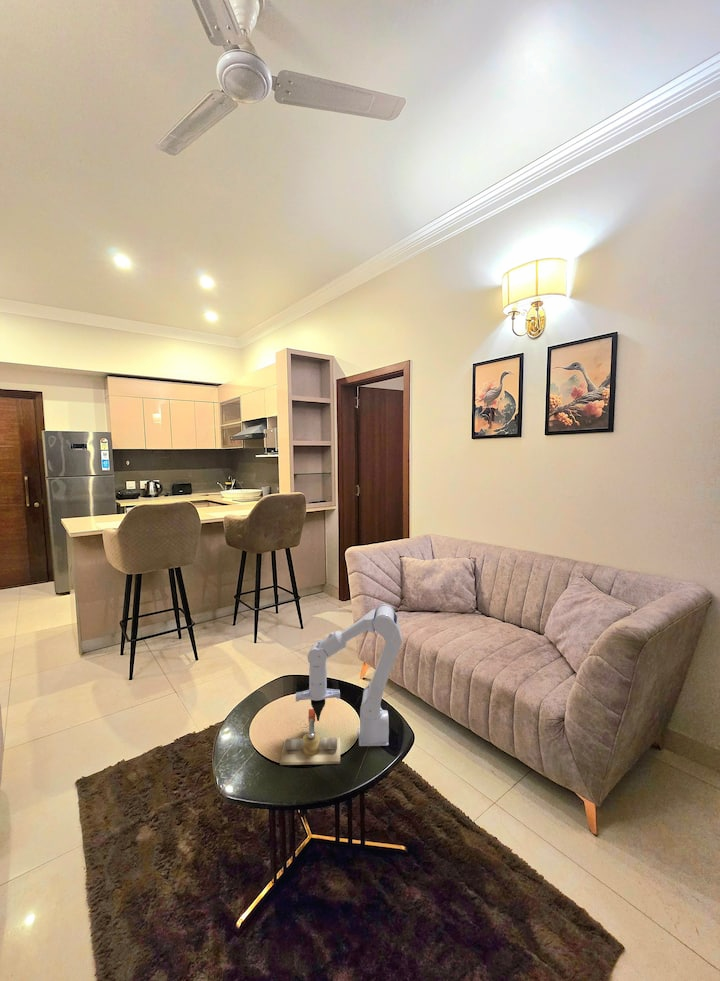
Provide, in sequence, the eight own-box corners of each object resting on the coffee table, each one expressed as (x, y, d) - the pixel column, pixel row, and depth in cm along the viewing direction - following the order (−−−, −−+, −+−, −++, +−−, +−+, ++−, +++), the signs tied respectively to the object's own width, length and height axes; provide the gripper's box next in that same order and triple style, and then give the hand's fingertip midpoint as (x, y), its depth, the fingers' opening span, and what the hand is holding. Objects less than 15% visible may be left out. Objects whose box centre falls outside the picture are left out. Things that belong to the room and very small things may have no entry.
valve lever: (315, 739, 123) (315, 734, 123) (307, 740, 123) (307, 734, 123) (315, 713, 135) (315, 708, 135) (308, 714, 135) (308, 709, 135)
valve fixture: (340, 739, 130) (340, 726, 130) (340, 763, 120) (340, 748, 120) (284, 740, 129) (284, 726, 129) (279, 764, 119) (279, 749, 119)
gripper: (338, 672, 137) (338, 709, 138) (295, 674, 135) (296, 712, 136) (340, 683, 130) (340, 723, 131) (295, 687, 128) (295, 726, 129)
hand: (317, 718), depth 133 cm, fingers closed
